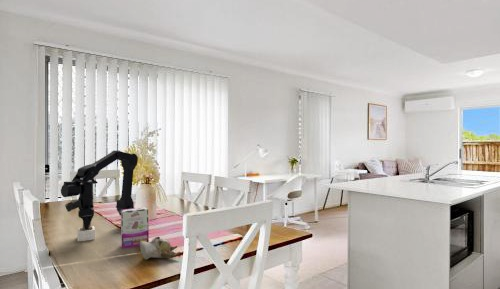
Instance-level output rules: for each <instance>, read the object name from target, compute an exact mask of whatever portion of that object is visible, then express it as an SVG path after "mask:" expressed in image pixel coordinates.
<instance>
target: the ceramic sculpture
mask: <svg viewBox="0 0 500 289" xmlns="http://www.w3.org/2000/svg"><path fill="white" fill-rule="evenodd" d="M139 248H140V252H141V255H142V257H143V259H144V260H149V259H150V258H154V259H172V258H175V257H178V256H179V255H180V254H179V253H176V252H174V251H175V250H176V249H177V248H178V246H177V245H175V246H171V243H170V241H169V240H167V239H166V238H160V236H156V237H154V238H153V239H152V241H149V242H145V241H140V246H139Z"/></svg>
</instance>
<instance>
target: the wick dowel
mask: <svg viewBox="0 0 500 289" xmlns="http://www.w3.org/2000/svg"><path fill="white" fill-rule="evenodd" d="M91 227H92V222H91V223H90V225H89V227H88V229H87V230H91ZM82 228H83V231H85V228H84V223H83V222H82Z"/></svg>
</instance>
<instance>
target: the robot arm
mask: <svg viewBox="0 0 500 289" xmlns="http://www.w3.org/2000/svg"><path fill="white" fill-rule="evenodd" d="M115 161H120V163H121V167H122V169H123V174H122V183H121V184H122V186H121V187H122V188H121V195H120V196H121V197H120V198H119V199H117V200H116V206H115V208H116V211H117V212H118V214H119V216H120V217H121V210H124V209H134V208H135V207H134V206H135V204H134V203H135V202H134V200H133V198H132V195H133V194H132V193H133V180H134V179H133V178H134V172H135V168H136V167H137V165H138V162H139V156H138V155H137V154H136V153H129V152H125V151H122V150H112V151H111V152H109V153H108V154H106V155H105V156H103V157H102V158H100V159H98V160H97V161H95V162H93V163H91V164H86V165H84V166H81V167H79V168H78V169H77V172H76V174H75V176H74V177H73V178H72V180H71V181H63V184H62V185H61V189H60V194H61V196H62V197H63V198H69V197H76V196H78V199H75V200H73V201H70V202H68V203H65V205H64V207H65V208H66V211H67V212H71V211H73V210H75V209H78V211H77V212H78V214H77V215H78V218H80V219H81V220H82V224H83V223H84V228H85V230H87V229H88V227H89V225H90V223H91V224H92V219H93V218H94V216H95V209H94V206H95V204H94V184H98V181H97V180H96V179H95V177H96V176H98V175H99V173H100V172H101V170H103V169H104V168H106V167H108V166H109V165H111V164H112V163H114V162H115Z"/></svg>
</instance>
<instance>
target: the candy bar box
mask: <svg viewBox="0 0 500 289" xmlns="http://www.w3.org/2000/svg"><path fill="white" fill-rule="evenodd" d="M120 228H121V229H120V239H121V240H120V243H121V249H128V248H133V247H135V248H136V247H140V241H145V242H150V241H149V234H150V233H149V208H148V207H147V206H145V207H137V208H135V207H134V209H124V210H121V216H120Z"/></svg>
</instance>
